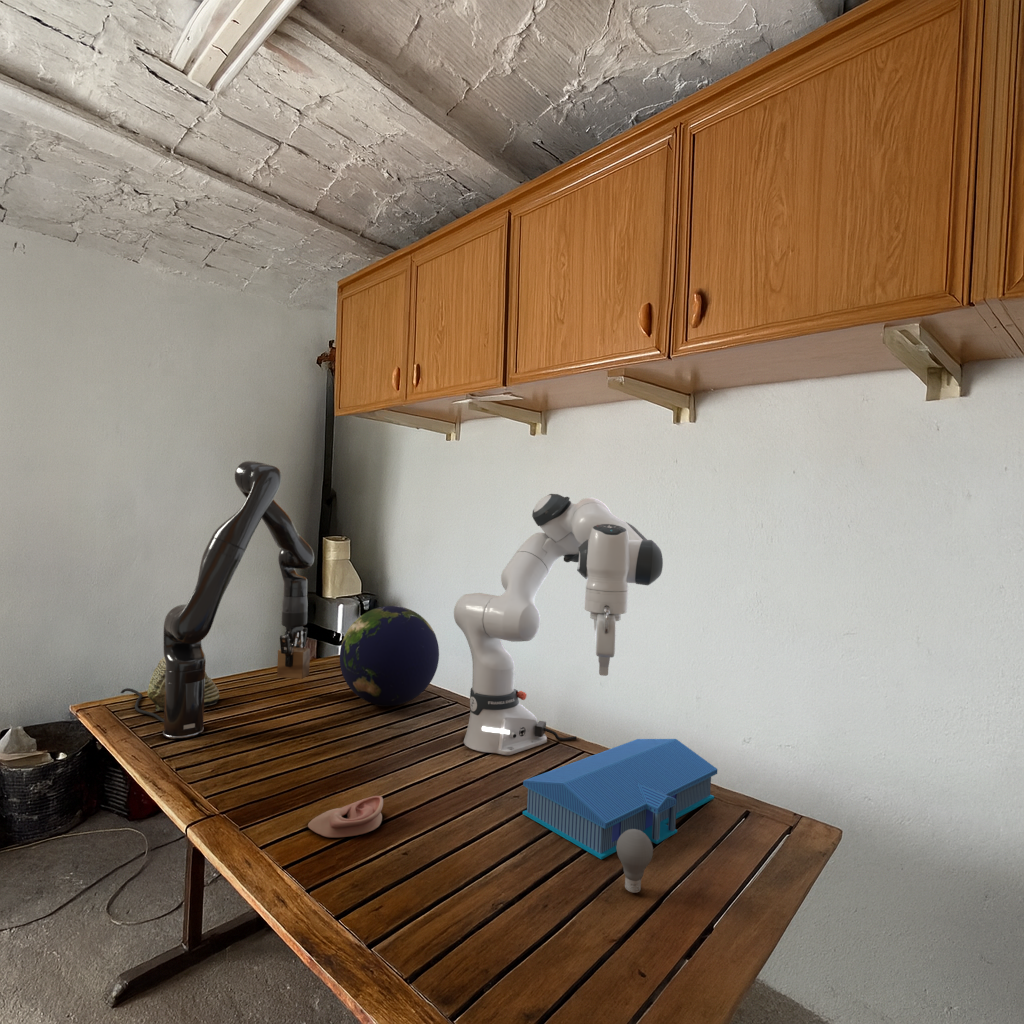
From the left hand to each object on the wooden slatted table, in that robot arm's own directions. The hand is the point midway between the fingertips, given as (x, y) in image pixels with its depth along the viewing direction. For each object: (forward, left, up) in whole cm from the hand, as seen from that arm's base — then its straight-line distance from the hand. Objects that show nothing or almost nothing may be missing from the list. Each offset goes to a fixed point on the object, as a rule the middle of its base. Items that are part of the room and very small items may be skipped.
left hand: (293, 664), depth 197 cm
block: (0, 0, -4) cm, 4 cm away
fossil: (-10, -28, -10) cm, 32 cm away
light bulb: (+128, +1, -10) cm, 128 cm away
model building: (+110, +24, -10) cm, 113 cm away
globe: (+23, +20, -10) cm, 32 cm away
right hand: (+106, +18, +20) cm, 110 cm away
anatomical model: (+79, -25, -10) cm, 83 cm away
